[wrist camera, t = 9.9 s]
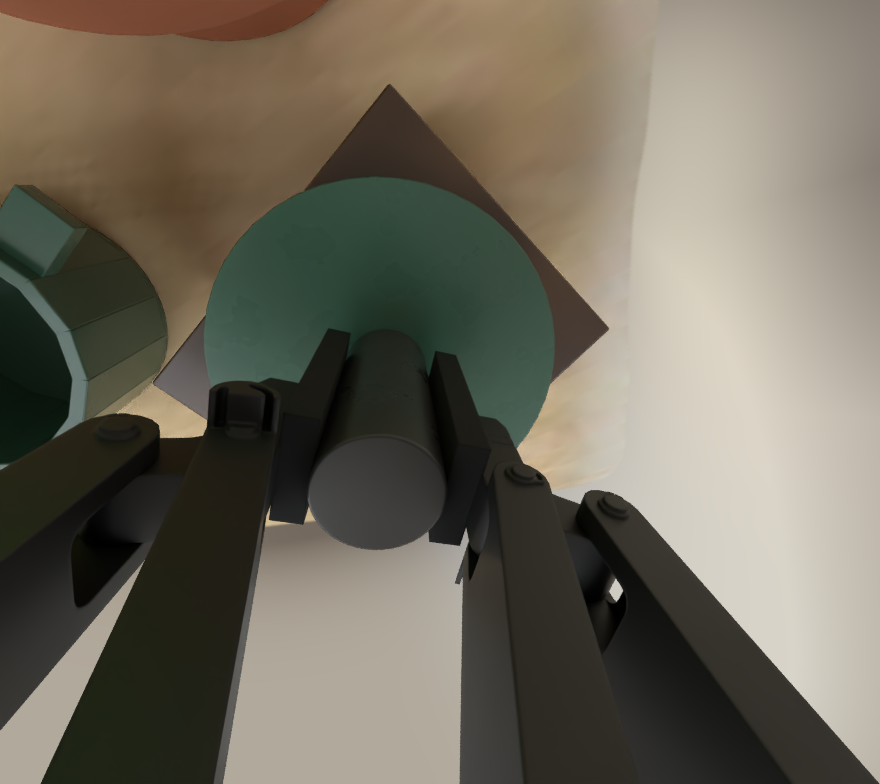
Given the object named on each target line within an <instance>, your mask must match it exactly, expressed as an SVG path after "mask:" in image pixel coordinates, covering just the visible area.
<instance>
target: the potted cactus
mask: <svg viewBox="0 0 880 784" xmlns="http://www.w3.org/2000/svg"><path fill="white" fill-rule="evenodd" d="M327 1H328V0H0V12H1V13H4V14H7V15H11V16H14V17H17V18H21V19H24V20H27V21H32V22H36V23H41V24H46V25H50V26H55V27H59V28H64V29H69V30H76V31H84V32H92V33H100V34H108V35H141V36H149V35H162V34H176V35H181V36H185V37H190V38H197V39H205V40H219V41H233V40H247V39H253V38H258V37H263V36H267V35H271V34H274V33H277V32H280V31H283V30H285V29H287V28H289V27H291V26H294V25H296V24H298V23H299V22H301V21H303V20H304V19H306V18H307V17H309V16H310V15H312V14H313V13H314V12H315V11H317V10H318V9H319V8H320V7H321V6H322V5H324V4H325V3H326V2H327Z"/></svg>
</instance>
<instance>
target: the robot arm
mask: <svg viewBox="0 0 880 784" xmlns="http://www.w3.org/2000/svg"><path fill="white" fill-rule="evenodd" d="M350 335H351V333H349V332H345V331H340V330H335V329H330V328H328V330H327V331H326V333H325V335H324V337H323V339H322V341H321V343H320V344H319V346H318V348H317V350H316V352H315V354H314V356H313V357H312V359H311V361H310V363H309V365H308V367H307V369H306V370H305V372H304V374H303V376H302V378H301V380H300V382H299V383H297V382H292V381H286V380H281V379H276V378H268V379H266V380H263V381H261V382H259V383H257V382H253V381H239V380H236V381H227V382H222V383H219V384H216V385H214V386H213V387H212V388H211V389H210V390H209V401H208V418H207V428H206V430H205V432H204V435H203V436H199V437H192V438H160V430H159V425H158V424H157V423H155V422H154V421H153V420H151V419H148V418H145V417H142V416H138V415H130V414H126V413H119V414H117V413H116V414H107V415H104V416H99V417H94V418H91V419H89V420H86V421H84V422H81V423H79V424H78V425H76V426H74V427H72V428H71V429H69V430H67V431H66V432H64V433H62V434H61V435H59V436H57V437H55V438H54V439H52V440H50V441H49V442H47V443H45V444H44V445H42V446H40V447H38V448H37V449H35V450H33V451H32V452H30V453H28V454H27V455H25V456H23V457H21V458H20V459H18V460H16V461H15V462H13V463H11V464H10V465H8V466H6V467H4V468H3V469H1V470H0V730H1V729H2V728H3V726H5V724H6V723H7V722H8V721H9V720H10V718H11V717H12V716H13V715H14V714H15V712H16V711H17V710H18V709H19V708H20V706H21V705H22V704H23V703H24V702H25V701H26V700H27V698H28V697H29V696H30V695H31V694H32V692H33V691H34V690H35V689H36V688H37V687H38V685H39V684H40V683H41V682H42V681H43V679H44V678H45V677H46V676H47V675H48V674H49V672H50V671H51V670H52V669H53V668H54V666H55V665H56V664H57V663H58V662H59V661H60V659H61V658H62V657H63V656H64V655H65V654H66V652H67V651H68V650H69V649H70V647H71V646H72V645H73V644H74V643H75V642H76V640H77V639H78V638H79V637H80V636H81V635H82V633H83V632H84V631H85V630H86V629H87V628H88V626H89V625H90V624H91V623H92V622H93V620H94V619H95V618H96V617H97V616H98V615H99V613H100V612H101V611H102V610H103V609H104V607H105V606H106V605H107V604H108V603H109V601H110V600H111V599H112V598H113V597H114V596H115V594H116V593H117V592H118V591H119V590H120V589H121V587H122V586H123V585H124V584H125V583H126V582H127V580H128V579H129V578H130V577H131V576H132V574H133V573H134V572H135V571H136V570H137V568H138V567H139V566H140V565H141V564H142V562H143V561H144V560H145V561H144V563H143V565H142V567H141V570H140V572H139V574H138V576H137V578H136V580H135V582H134V585H133V587H132V589H131V591H130V593H129V595H128V598H127V600H126V602H125V604H124V606H123V608H122V610H121V613H120V615H119V617H118V619H117V621H116V623H115V625H114V627H113V630H112V632H111V634H110V636H109V638H108V640H107V643H106V645H105V647H104V649H103V651H102V653H101V655H100V657H99V660H98V662H97V664H96V666H95V668H94V671H93V673H92V675H91V677H90V679H89V681H88V683H87V685H86V687H85V690H84V692H83V694H82V696H81V698H80V700H79V702H78V705H77V707H76V709H75V711H74V713H73V715H72V717H71V720H70V722H69V724H68V726H67V728H66V730H65V732H64V735H63V737H62V739H61V741H60V743H59V746H58V747H57V750H56V752H55V754H54V756H53V758H52V760H51V762H50V765H49V767H48V769H47V771H46V773H45V775H44V778H43V780H42V782H41V784H223V779H224V773H225V767H226V761H227V755H228V749H229V743H230V737H231V731H232V724H233V718H234V713H235V707H236V701H237V694H238V688H239V682H240V676H241V670H242V664H243V658H244V652H245V646H246V640H247V633H248V628H249V622H250V616H251V609H252V604H253V597H254V591H255V585H256V579H257V573H258V567H259V561H260V555H261V549H262V543H263V537H264V530H265V522H266V515H267V513H268V510H269V508H270V506H271V508H270V516H269V520H272V521H280V522H287V523H295V524H302V525H303V524H304V521H305V517H306V514H307V510H308V507H309V504H308V500H307V482H308V478H309V475H310V471H311V468H312V466H313V463H314V460H315V457H316V454H317V451H318V447H319V444H320V441H321V438H322V435H323V432H324V428H325V425H326V422H327V419H328V416H329V413H330V409H331V406H332V403H333V400H334V397H335V394H336V390H337V387H338V384H339V381H340V378H341V375H342V371H343V368H344V365H345V362H346V357H347V352H348V346H349V341H350ZM429 384H430V389H431V395H432V401H433V406H434V412H435V417H436V423H437V429H438V434H439V440H440V445H441V451H442V457H443V462H444V468H445V473H446V479H447V487H448V493H447V500H446V505H445V507H444V510H443V512H442V514H441V516H440V518H439V519H438V521H437V522H436V523H435V525H434V526H433V527H432V528H431V529H430V530H429V531H428V532H429V542H436V543H442V544H450V545H457V546H460V544H461V540H462V538H463V534H464V532H465V529H466V528H467V533H468V538H469V542H468V545H467V548H466V551H465V554H464V557H463V560H462V564H461V566H460V569H459V572H458V575H457V578H456V581H455V583H456V584H460V581H461V579H462V577H463V605H462V669H461V731H460V733H461V735H460V784H879V783H878V781H877V780H876V779H875V778H874V777H873V776H872V775H871V774H870V772H869V771H868V770H867V769H866V768H865V767H864V766H863V765H862V763H861V762H860V761H859V760H858V759H857V758H856V757H855V755H854V754H853V753H852V752H851V751H850V750H849V749H848V748H847V746H846V745H845V744H844V743H843V742H842V741H841V740H840V738H839V737H838V736H837V735H836V734H835V733H834V732H833V731H832V730H831V728H830V727H829V726H828V725H827V724H826V723H825V722H824V720H823V719H822V718H821V717H820V716H819V715H818V714H817V712H816V711H815V710H814V709H813V708H812V707H811V706H810V704H808V702H807V701H806V700H805V699H804V698H803V697H802V695H800V693H799V692H798V691H797V690H796V689H795V687H794V686H793V685H792V684H791V683H790V682H789V681H788V680H787V679H786V677H785V676H784V675H783V674H782V673H781V672H780V671H779V670H778V668H777V667H776V666H775V665H774V664H773V663H772V661H771V660H770V659H769V658H768V657H767V656H766V655H765V654H764V653H763V651H762V650H761V649H760V648H759V647H758V646H757V644H756V643H755V642H754V641H753V640H752V639H751V638H750V637H749V636H748V634H747V633H746V632H745V631H744V630H743V629H742V628H741V627H740V625H739V624H738V623H737V622H736V621H735V620H734V618H733V617H732V616H731V615H730V614H729V613H728V612H727V610H726V609H725V608H724V607H723V606H722V605H721V604H720V603H719V601H718V600H717V599H716V598H715V597H714V596H713V595H712V593H711V592H710V591H709V590H708V589H707V588H706V587H705V586H704V585H703V583H702V582H701V581H700V580H699V579H698V578H697V576H696V575H695V574H694V573H693V572H692V571H691V570H690V569H689V567H688V566H687V565H686V564H685V563H684V562H683V561H682V559H681V558H680V557H679V556H678V555H677V554H676V553H675V552H674V550H673V549H672V548H671V547H670V546H669V545H668V544H667V543H666V541H665V540H664V539H663V538H662V537H661V536H660V535H659V533H658V532H657V531H656V530H655V529H654V528H653V527H652V526H651V525H650V523H649V522H648V521H647V520H646V519H645V518H644V516H643V515H642V514H641V513H640V512H639V511H638V510H637V509H636V508H635V507H634V506H633V505H631V504H630V503H629V502H627V501H625V500H624V499H623V498H622V497H620V496H618V495H616V494H615V495H614V493H610V492H604V491H600V490H591V491H588V492H587V493H585V495H584V497H583V499H582V501H581V504H578V503H575V502H572V501H570V500H567V499H564V498H561V497H559V496H556V495H554V494H552V491H551V488H550V485H549V482H548V481H547V479H546V477H545V476H543V475H542V474H541V473H540V472H539V471H538V470H536V469H534V468H532V467H530V466H529V465H526V464H523V462H522V460H521V457H520V455H519V453H518V451H517V449H516V447H515V446H514V443H513V441H512V439H511V437H510V434H509V432H508V430H507V428H506V427H505V426H504V425H503V424H501V423H500V422H499V421H498V420H497V419H495V418H490V417H484V416H479V415H478V412H477V409H476V407H475V404H474V401H473V399H472V396H471V393H470V391H469V388H468V385H467V383H466V380H465V377H464V375H463V372H462V369H461V367H460V364H459V362H458V359H457V356H456V355H453V354H449V353H444V352H439V351H435V354H434V358H433V362H432V366H431V370H430V374H429ZM615 579H617V581H618V582H619V583H620V585H621V587H622V589H623V592H622V594H621V596H620V598H619V600H618V601H617V602H616V601H615V600H614V599H613V597H612V596H611V594H610V593H609V590H610V588H611V586H612V584H613V583H614V581H615Z"/></svg>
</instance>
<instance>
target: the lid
mask: <svg viewBox="0 0 880 784" xmlns="http://www.w3.org/2000/svg"><path fill="white" fill-rule="evenodd" d="M328 328H330V329H335V330H340V331H345V332H349V333H351V335H350V341H349V346H348V352H347V357H346V362H345V365H344V368H343V371H342V375H341V378H340V381H339V384H338V387H337V390H336V394H335V397H334V400H333V403H332V406H331V409H330V413H329V416H328V419H327V422H326V425H325V428H324V432H323V435H322V438H321V441H320V444H319V447H318V451H317V454H316V457H315V460H314V463H313V466H312V468H311V471H310V475H309V478H308V482H307V500H308V504H309V508H310V510H311V513H312V515H313V517H314V518H315V520H316V522H317V523H318V524H319V525H320V526H321V528H322V529H323V530H324V531H325V532H327V533H328V534H329V535H330V536H332V537H333V538H335V539H337V540H338V541H340V542H342V543H345V544H347V545H350V546H353V547H356V548H361V549H369V550H384V549H391V548H396V547H400V546H403V545H406V544H408V543H410V542H413V541H415V540H416V539H418V538H420V537H421V536H423V535H424V534H425V533H427V532H428V531H429V530H430V529H431V528H432V527H433V526H434V525H435V523H436V522H437V521H438V519H439V518H440V516H441V514H442V512H443V510H444V507H445V505H446V500H447V493H448V487H447V479H446V473H445V468H444V462H443V457H442V451H441V445H440V440H439V434H438V429H437V423H436V417H435V412H434V406H433V401H432V395H431V389H430V384H429V374H430V370H431V366H432V362H433V358H434V354H435V351H439V352H444V353H449V354H453V355H456V356H457V359H458V362H459V364H460V367H461V369H462V372H463V375H464V377H465V380H466V383H467V385H468V388H469V391H470V393H471V396H472V399H473V401H474V404H475V407H476V409H477V412H478V415H479V416H484V417H490V418H495V419H497V420H498V421H499V422H500V423H501V424H503V425H504V426H505V427H506V428H507V430H508V432H509V434H510V437H511V439H512V441H513V443H514V446H515V447H516V448H517V447H518V446H519V445H520V443H521V442H522V441H523V439H524V438H525V437H526V436H527V434H528V433H529V431H530V429H531V428H532V426H533V424H534V422H535V421H536V419H537V417H538V415H539V413H540V411H541V408H542V406H543V404H544V401H545V399H546V396H547V392H548V389H549V385H550V382H551V378H552V371H553V365H554V353H555V335H554V327H553V318H552V313H551V310H550V306H549V302H548V298H547V295H546V292H545V290H544V287H543V285H542V282H541V280H540V278H539V275H538V273H537V271H536V270H535V268H534V266H533V265H532V263H531V261H530V260H529V258H528V256H527V254H526V253H525V252H524V251H523V249H522V248H521V247H520V245H519V244H518V243H517V242H516V240H515V239H514V238H513V237H512V235H511V234H510V233H509V232H507V231H506V230H505V229H504V228H503V227H502V226H501V225H500V224H499V223H498V222H497V221H496V220H495V219H494V218H493V217H491V216H490V215H488V214H487V213H486V212H484V211H483V210H481V209H480V208H479V207H477V206H476V205H474V204H473V203H471V202H469V201H467V200H465V199H463V198H461V197H460V196H458V195H456V194H454V193H452V192H450V191H447V190H444V189H441V188H439V187H436V186H433V185H430V184H427V183H424V182H419V181H414V180H409V179H404V178H397V177H379V176H369V177H358V178H346V179H342V180H338V181H334V182H330V183H325V184H321V185H318V186H316V187H313V188H311V189H308V190H306V191H303V192H301V193H298V194H296V195H294V196H292V197H291V198H289V199H287V200H286V201H284V202H282V203H281V204H279V205H277V206H275V207H274V208H272V209H271V210H270V211H269V212H268V213H266V214H265V215H264V216H263V217H261V218H260V219H259V220H258V221H256V222H255V223H254V224H253V225H252V226H251V227H250V228H249V229H248V231H247V232H246V233H245V234H244V235H243V236H242V237H241V238H240V239H239V241H238V242H237V243H236V244H235V246H234V247H233V249H232V250H231V252H230V254H229V255H228V257H227V258H226V260H225V261H224V263H223V265H222V267H221V269H220V271H219V273H218V276H217V278H216V280H215V282H214V284H213V288H212V291H211V295H210V298H209V302H208V305H207V310H206V318H205V326H204V354H205V360H206V366H207V372H208V377H209V380H210V384H211V387H213V386H214V385H216V384H219V383H222V382H227V381H236V380H239V381H253V382H257V383H259V382H261V381H263V380H266V379H268V378H276V379H281V380H286V381H292V382H297V383H299V382H300V380H301V378H302V376H303V374H304V372H305V370H306V369H307V367H308V365H309V363H310V361H311V359H312V357H313V356H314V354H315V352H316V350H317V348H318V346H319V344H320V343H321V341H322V339H323V337H324V335H325V333H326V331H327V330H328Z"/></svg>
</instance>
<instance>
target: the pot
mask: <svg viewBox="0 0 880 784" xmlns="http://www.w3.org/2000/svg"><path fill="white" fill-rule="evenodd" d="M167 340H168V335H167V323H166V318H165V313H164V310H163V307H162V304H161V301H160V299H159V297H158V295H157V293H156V291H155V289H154V287H153V285H152V284H151V282H150V281H149V279H148V277H147V276H146V274H145V273H144V272H143V271H142V269H141V268H140V267H139V266H138V264H137V263H136V262H135V261H134V260H133V259H132V258H131V257H130V256H129V255H128V254H127V253H126V252H125V251H124V250H122V249H121V248H120V247H119V246H118V245H117V244H115V243H114V242H113V241H111V240H110V239H108V238H107V237H105V236H104V235H102V234H101V233H99V232H98V231H96V230H94V229H92V228H90V227H88V226H87V225H85V224H84V223H83V222H81V221H80V220H79V219H77V218H76V217H75V216H73V215H72V214H71V213H69V212H68V211H67V210H65V209H64V208H63V207H61V206H60V205H59V204H57V203H56V202H55V201H53V200H52V199H51V198H49V197H48V196H47V195H45V194H44V193H43V192H41V191H40V190H39V189H37V188H36V187H35V186H33V185H17V184H16V185H14V187H13V188H12V190H11V192H10V193H9V195H8V197H7V198H6V200H5V202H4V203H3V205H2V207H1V208H0V470H1V469H3V468H4V467H6V466H8V465H10V464H11V463H13V462H15V461H16V460H18V459H20V458H21V457H23V456H25V455H27V454H28V453H30V452H32V451H33V450H35V449H37V448H38V447H40V446H42V445H44V444H45V443H47V442H49V441H50V440H52V439H54V438H55V437H57V436H59V435H61V434H62V433H64V432H66V431H67V430H69V429H71V428H72V427H74V426H76V425H78V424H79V423H81V422H84V421H86V420H89V419H91V418H94V417H99V416H104V415H107V414H115V413H116V412H118V411H119V410H120V409H122V408H123V407H124V406H125V405H127V404H128V403H129V402H131V401H132V400H133V399H135V398H136V397H137V396H139V395H140V394H141V392H142V391H143V390H144V389H145V388H146V387H147V386H148V385H149V384H150V383H151V381H152V380H153V379H154V378H155V376H156V375H157V373H158V372H159V370H160V368H161V366H162V363H163V361H164V358H165V354H166V350H167Z"/></svg>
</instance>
